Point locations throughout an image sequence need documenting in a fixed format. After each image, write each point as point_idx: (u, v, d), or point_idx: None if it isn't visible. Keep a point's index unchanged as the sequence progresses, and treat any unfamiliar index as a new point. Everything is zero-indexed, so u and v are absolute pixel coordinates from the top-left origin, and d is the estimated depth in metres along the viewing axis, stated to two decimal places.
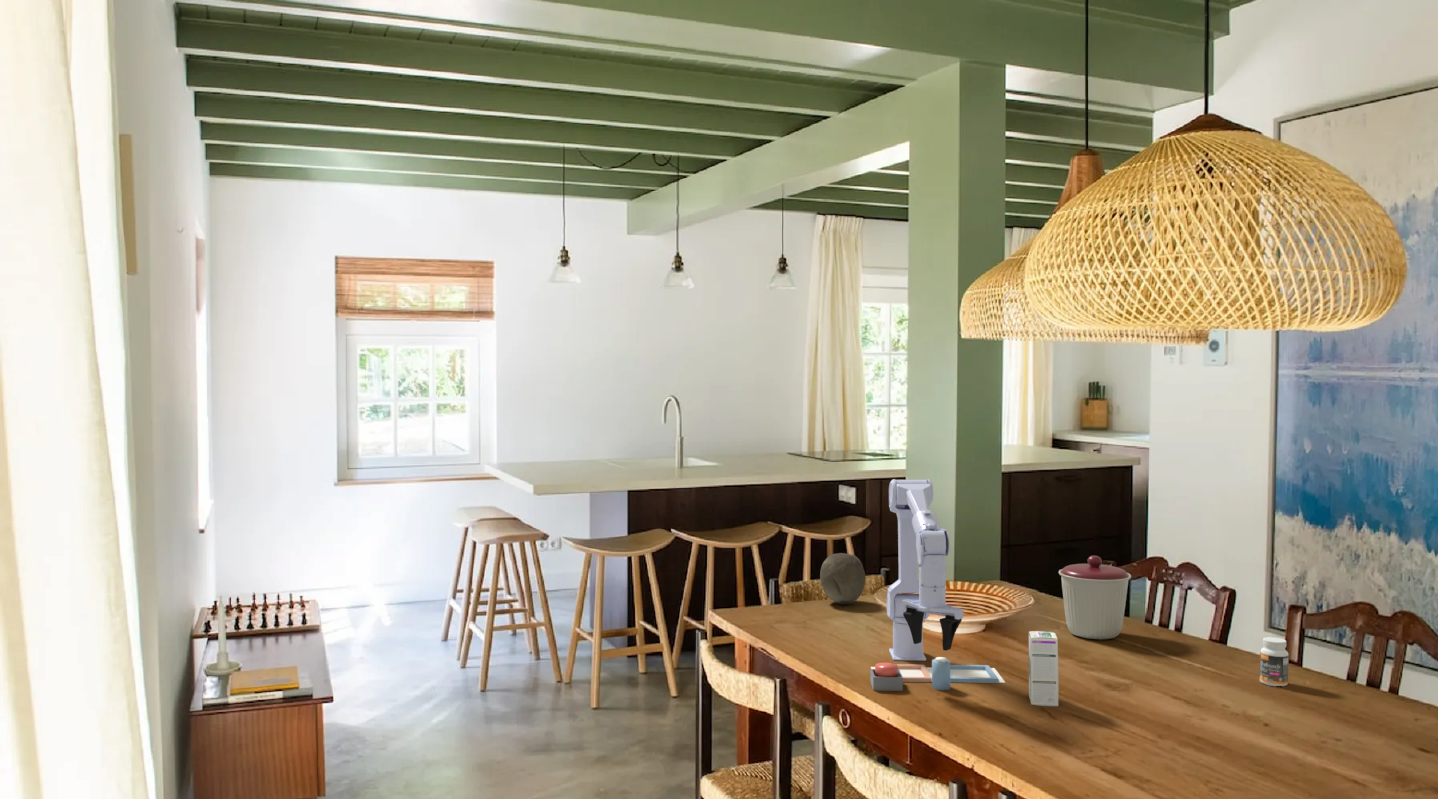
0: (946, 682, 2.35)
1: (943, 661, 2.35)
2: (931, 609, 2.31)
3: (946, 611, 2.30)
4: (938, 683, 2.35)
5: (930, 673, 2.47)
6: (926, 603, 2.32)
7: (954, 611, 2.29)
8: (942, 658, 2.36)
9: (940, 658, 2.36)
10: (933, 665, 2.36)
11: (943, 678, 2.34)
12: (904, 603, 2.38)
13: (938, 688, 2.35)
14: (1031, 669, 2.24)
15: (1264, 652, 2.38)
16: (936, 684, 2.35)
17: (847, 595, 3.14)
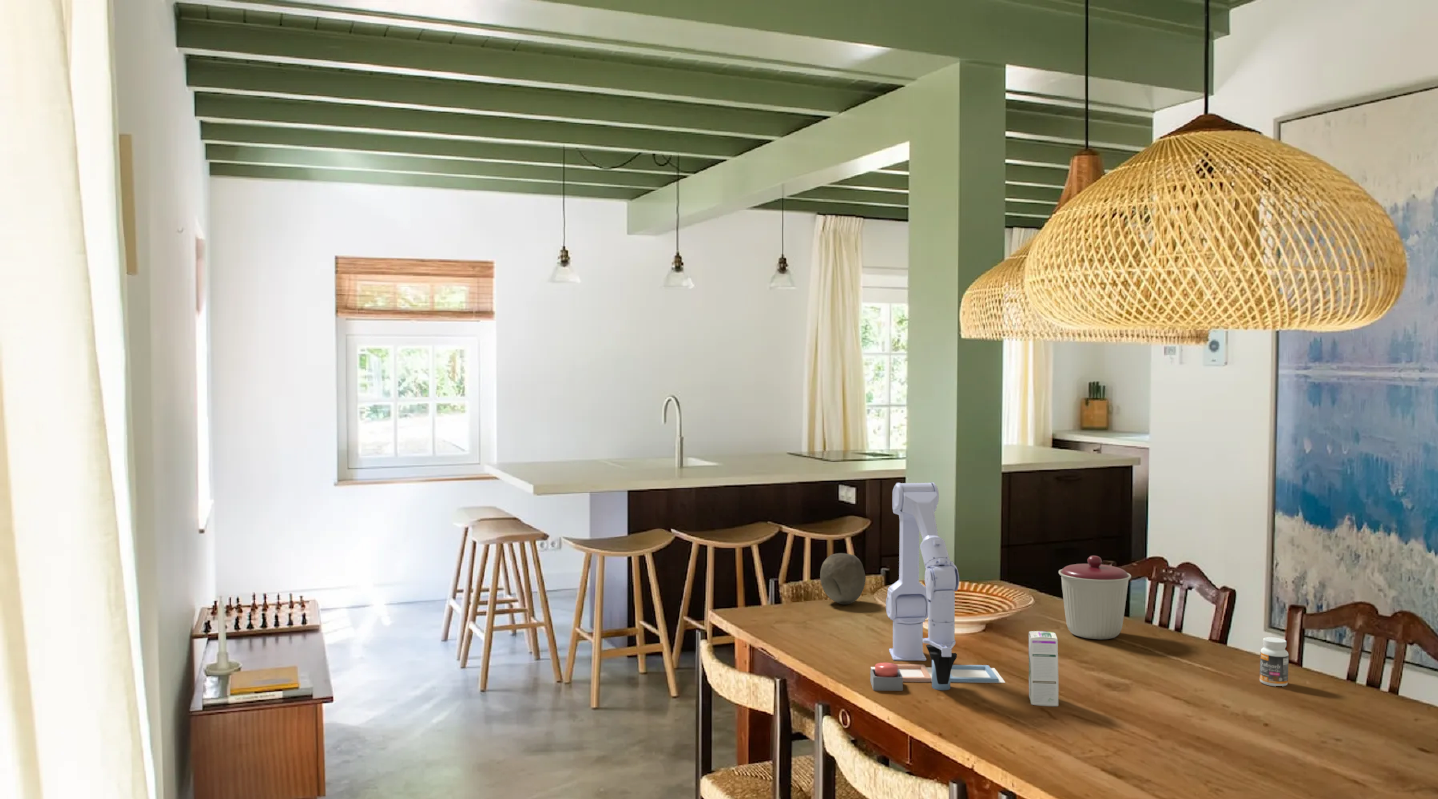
0: None
1: None
2: (930, 642, 2.35)
3: (937, 647, 2.32)
4: None
5: (930, 673, 2.47)
6: (928, 635, 2.36)
7: (941, 648, 2.30)
8: None
9: None
10: (933, 665, 2.36)
11: None
12: None
13: (938, 688, 2.35)
14: (1031, 669, 2.24)
15: (1264, 652, 2.38)
16: (936, 684, 2.35)
17: (847, 595, 3.14)
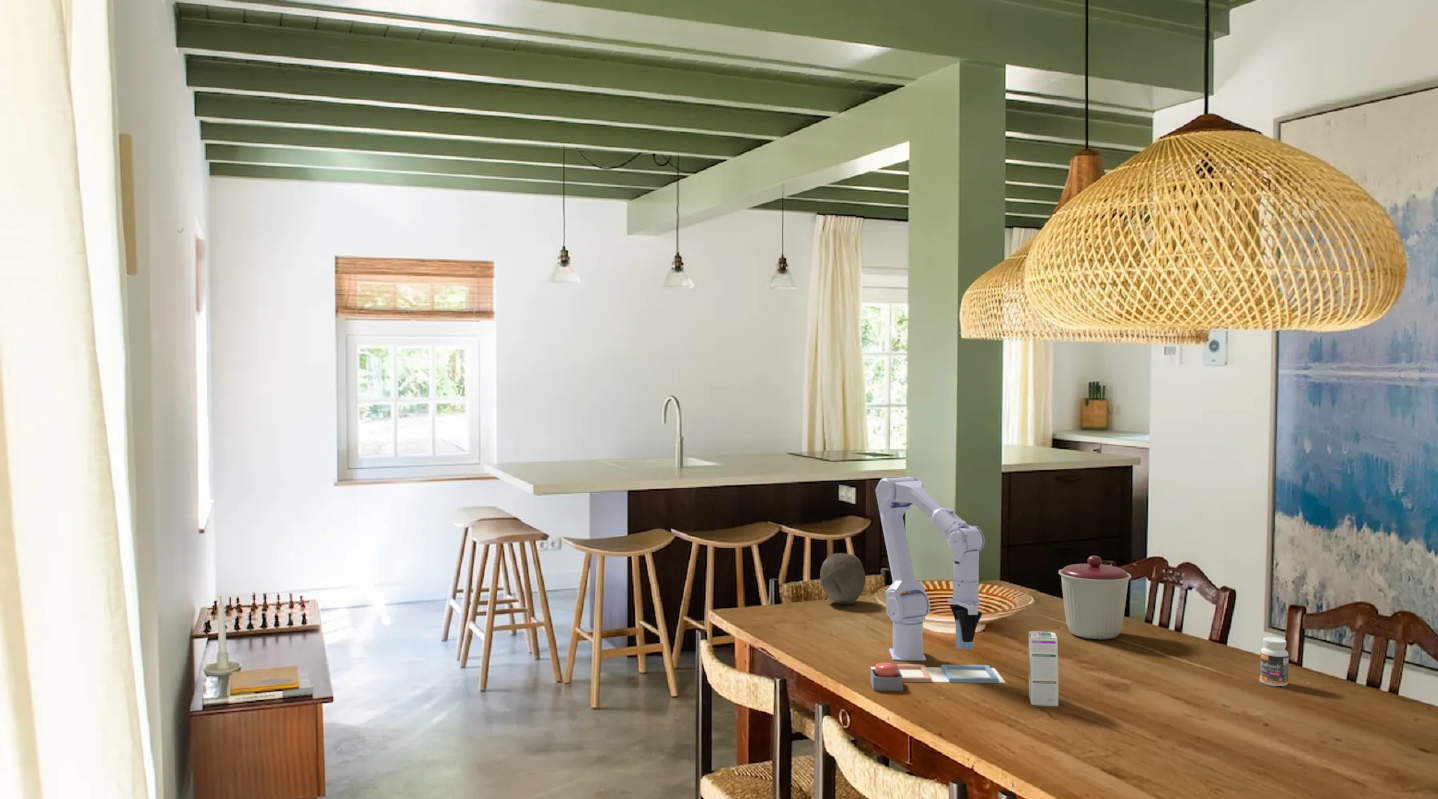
0: None
1: None
2: (955, 602, 2.42)
3: (963, 605, 2.39)
4: (963, 642, 2.42)
5: (930, 673, 2.47)
6: (953, 595, 2.43)
7: (967, 606, 2.38)
8: None
9: None
10: (958, 625, 2.43)
11: None
12: None
13: (964, 646, 2.42)
14: (1031, 669, 2.24)
15: (1264, 652, 2.38)
16: (961, 643, 2.42)
17: (847, 595, 3.14)
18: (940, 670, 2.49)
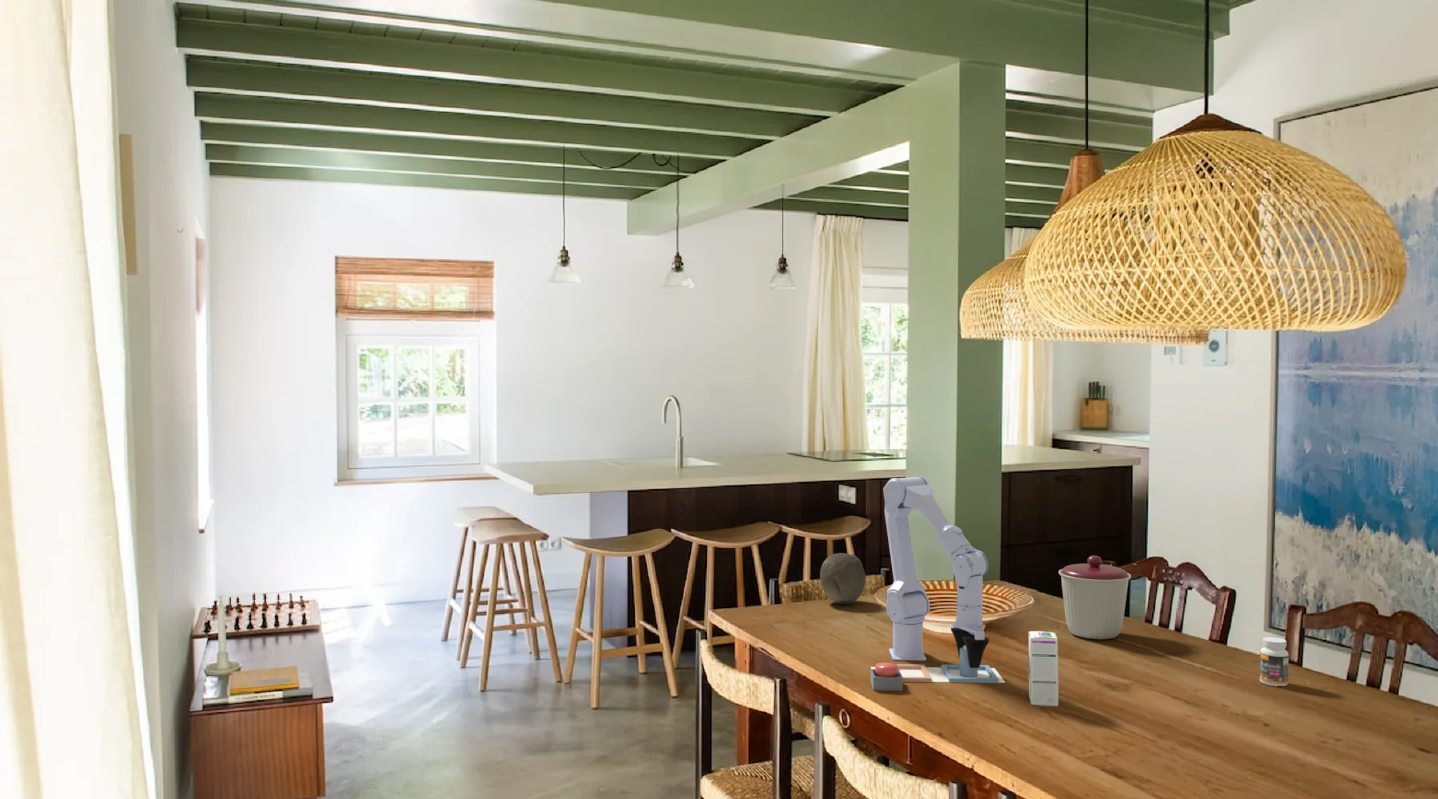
0: (975, 669, 2.44)
1: None
2: (960, 626, 2.43)
3: (969, 630, 2.41)
4: (968, 670, 2.44)
5: (930, 673, 2.47)
6: (958, 620, 2.45)
7: (974, 631, 2.39)
8: None
9: None
10: (962, 653, 2.44)
11: None
12: (956, 619, 2.52)
13: (968, 675, 2.44)
14: (1031, 669, 2.24)
15: (1264, 652, 2.38)
16: (966, 672, 2.44)
17: (847, 595, 3.14)
18: (940, 670, 2.49)
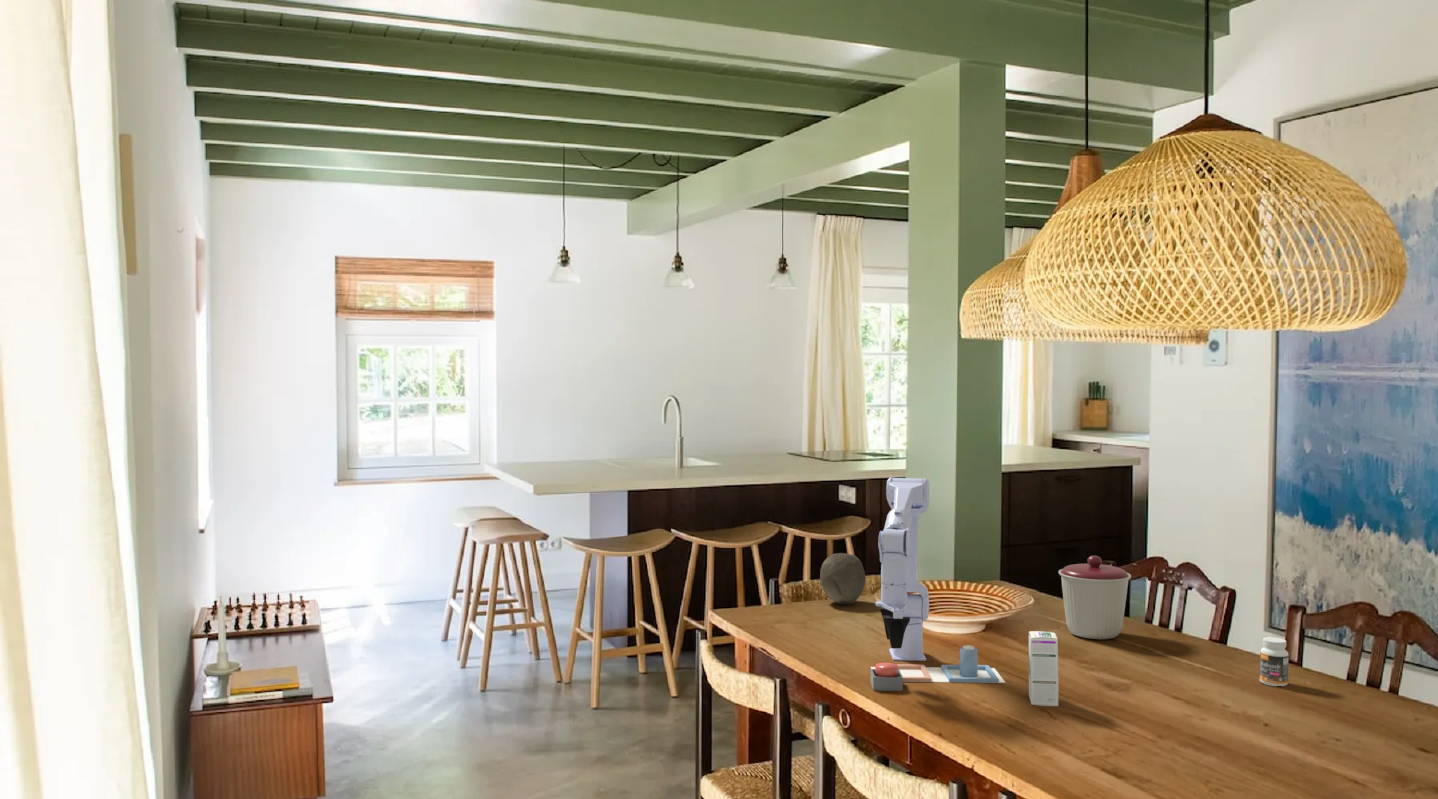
0: (975, 669, 2.44)
1: (972, 649, 2.44)
2: (882, 605, 2.36)
3: (889, 609, 2.33)
4: (968, 670, 2.44)
5: (930, 673, 2.47)
6: (881, 598, 2.37)
7: (892, 610, 2.31)
8: (969, 646, 2.46)
9: (968, 647, 2.45)
10: (962, 653, 2.44)
11: (973, 665, 2.44)
12: None
13: (968, 675, 2.44)
14: (1031, 669, 2.24)
15: (1264, 652, 2.38)
16: (966, 672, 2.44)
17: (847, 595, 3.14)
18: (940, 670, 2.49)
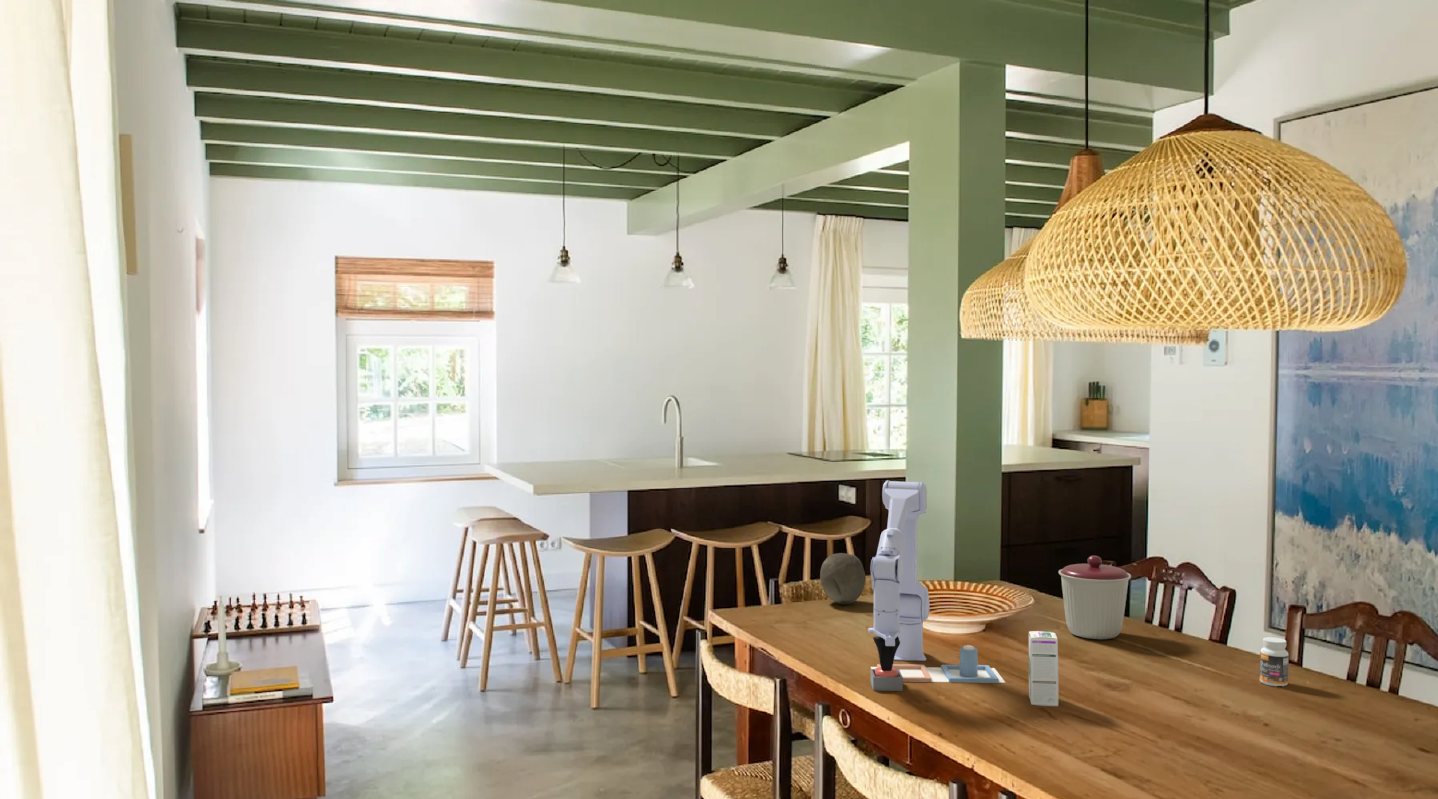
0: (975, 669, 2.44)
1: (972, 649, 2.44)
2: (875, 632, 2.36)
3: (881, 636, 2.33)
4: (968, 670, 2.44)
5: (930, 673, 2.47)
6: None
7: (884, 637, 2.31)
8: (969, 646, 2.46)
9: (968, 647, 2.45)
10: (962, 653, 2.44)
11: (973, 665, 2.44)
12: None
13: (968, 675, 2.44)
14: (1031, 669, 2.24)
15: (1264, 652, 2.38)
16: (966, 672, 2.44)
17: (847, 595, 3.14)
18: (940, 670, 2.49)
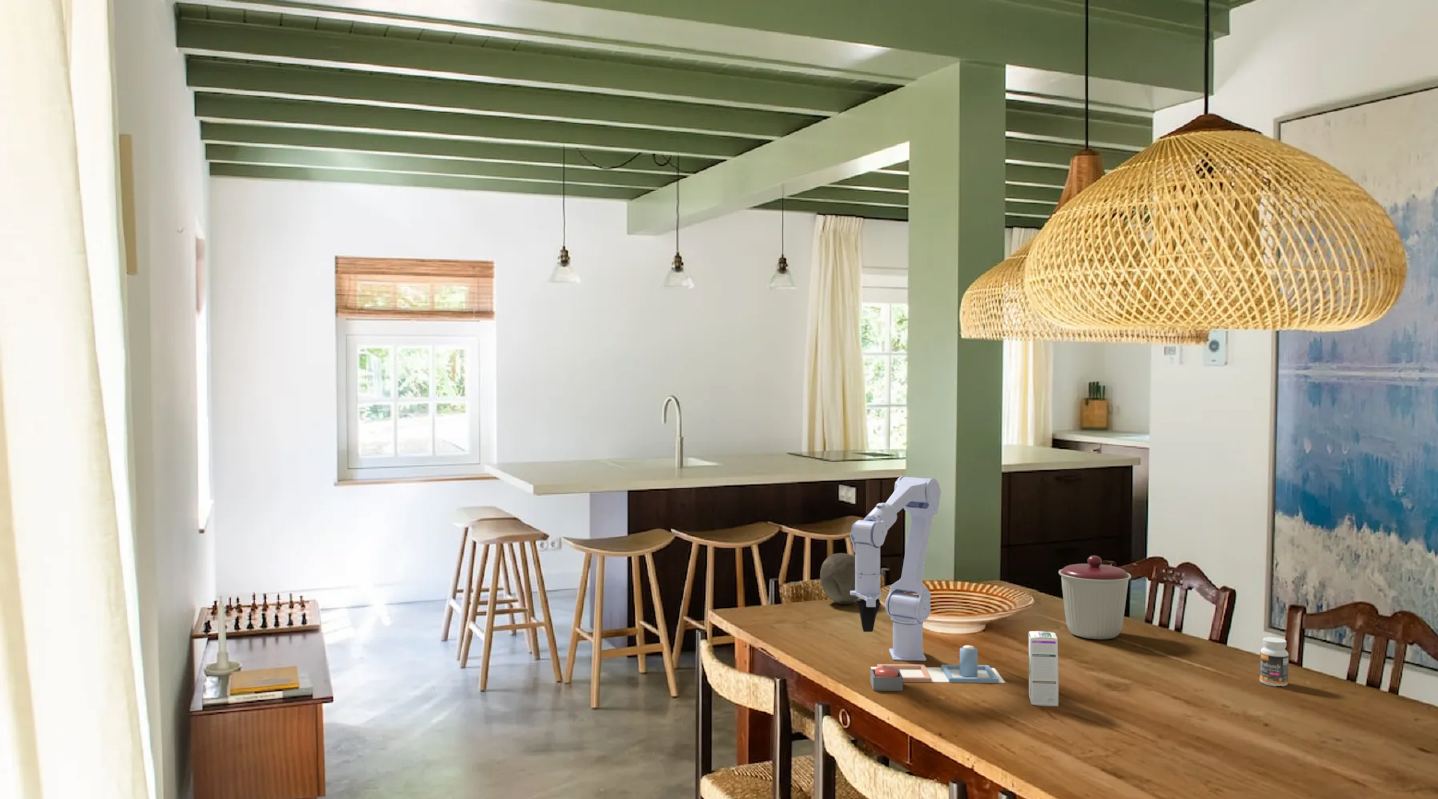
0: (975, 669, 2.44)
1: (972, 649, 2.44)
2: (856, 594, 2.44)
3: (863, 598, 2.41)
4: (968, 670, 2.44)
5: (930, 673, 2.47)
6: (855, 588, 2.46)
7: (866, 598, 2.40)
8: (969, 646, 2.46)
9: (968, 647, 2.45)
10: (962, 653, 2.44)
11: (973, 665, 2.44)
12: None
13: (968, 675, 2.44)
14: (1031, 669, 2.24)
15: (1264, 652, 2.38)
16: (966, 672, 2.44)
17: (847, 595, 3.14)
18: (940, 670, 2.49)
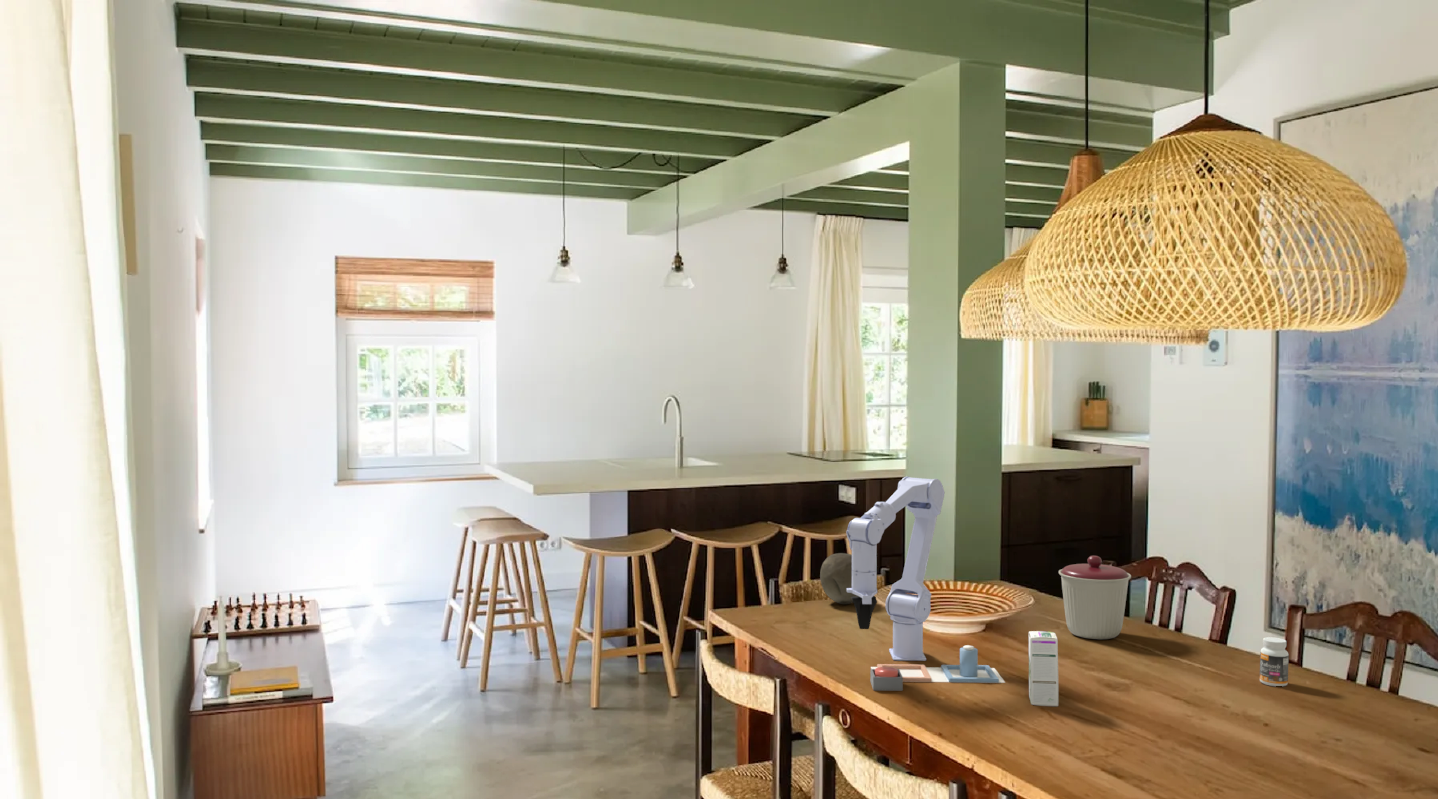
0: (975, 669, 2.44)
1: (972, 649, 2.44)
2: (853, 591, 2.46)
3: (859, 595, 2.43)
4: (968, 670, 2.44)
5: (930, 673, 2.47)
6: (852, 585, 2.47)
7: (862, 596, 2.41)
8: (969, 646, 2.46)
9: (968, 647, 2.45)
10: (962, 653, 2.44)
11: (973, 665, 2.44)
12: None
13: (968, 675, 2.44)
14: (1031, 669, 2.24)
15: (1264, 652, 2.38)
16: (966, 672, 2.44)
17: (847, 595, 3.14)
18: (940, 670, 2.49)
